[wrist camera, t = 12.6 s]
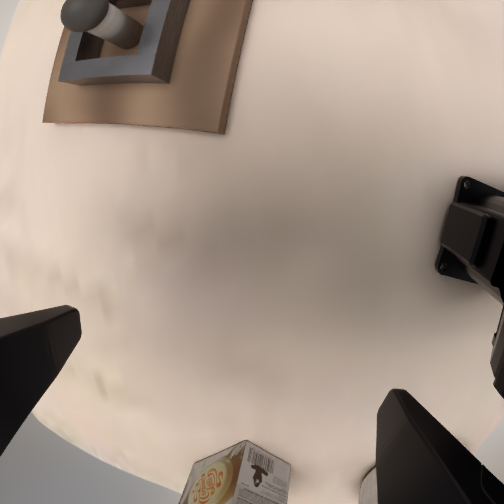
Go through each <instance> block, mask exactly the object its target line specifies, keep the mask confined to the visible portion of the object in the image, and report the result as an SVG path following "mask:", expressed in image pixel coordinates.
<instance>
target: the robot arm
mask: <svg viewBox="0 0 504 504" xmlns="http://www.w3.org/2000/svg"><path fill="white" fill-rule="evenodd" d="M465 181H467V187H465V186H464V182H465ZM441 243H442V245H441V249H440V252H439V255H438V258H437V261H436V264H435V269H436V271H437V272H438V273H440V274H441V275H445V276H449V277H453V278H457V279H461V280H465V281H469V282H472V283H476V284H479V285H481V286H482V287H483V288H484V289H485V290H486V291H488V292H489V293H490V294H491V295H492V296H493V297H494V298H495V299H497V300H498V301H499V302H500V303H501V304H502V305H503V309H502V313H501V317H500V321H499V325H498V328H497V332H496V333H495V334H494V337H493V340H492V345H493V349H492V354H491V361H490V364H491V367H492V371H493V374H494V377H495V380H494V383H493V385H494V387H495V388H496V390H497V391H498V392H499V394H500V395H501V396H502V398H503V399H504V192H502V191H499V190H497V189H495V188H493V187H491V186H489V185H486V184H484V183H482V182H480V181H477V180H475V179H473V178H470V177H467V176H462V177H461V178H460V179H459V181H458V185H457V190H456V194H455V198H454V202H453V204H452V205H451V207H450V211H449V215H448V219H447V222H446V226H445V229H444V233H443V236H442V239H441ZM442 264H445V266H444V268H442V269H441V265H442ZM81 334H82V331H81V322H80V314H79V311H78V310H77V309H76V308H74V307H71V306H69V305H63V306H58V307H54V308H49V309H44V310H39V311H34V312H29V313H25V314H20V315H15V316H10V317H5V318H0V456H1V455H2V453H3V452H4V450H5V449H6V447H7V446H8V444H9V443H10V441H11V440H12V438H13V437H14V435H15V434H16V432H17V431H18V429H19V428H20V426H21V425H22V423H23V422H24V421H25V419H26V418H27V416H28V415H29V414H30V412H31V411H32V409H33V408H34V407H35V405H36V404H37V402H38V401H39V400H40V398H41V397H42V396H43V394H44V393H45V392H46V390H47V389H48V388H49V386H50V385H51V384H52V382H53V381H54V380H55V378H56V377H57V375H58V374H59V372H60V371H61V369H62V368H63V366H64V364H65V363H66V361H67V359H68V358H69V356H70V354H71V353H72V351H73V350H74V348H75V347H76V345H77V343H78V342H79V340H80V338H81ZM376 478H377V501H378V504H504V484H503V483H502V482H501V481H499V480H498V479H497V478H496V477H495V476H494V475H493V474H492V473H491V472H490V471H489V470H488V469H487V468H486V467H485V466H484V465H481V462H480V461H479V460H478V459H476V458H475V457H474V456H473V455H472V454H471V453H470V452H469V451H468V450H467V449H466V448H465V447H464V446H463V445H462V444H461V443H460V442H459V441H458V440H457V439H456V438H455V437H454V436H453V435H452V434H451V433H450V432H449V431H448V430H447V429H446V428H445V427H444V426H443V425H442V424H440V423H439V422H438V421H437V420H436V419H435V418H434V417H433V416H432V415H431V414H430V413H429V412H428V411H427V410H426V409H425V408H424V407H423V406H422V405H421V404H420V403H419V402H418V401H417V400H416V399H415V398H414V397H412V396H411V395H410V394H409V393H408V392H407V391H406V390H404V389H392V390H390V391H389V393H388V395H387V396H386V398H385V400H384V401H383V403H382V405H381V406H380V408H379V410H378V413H377V439H376Z"/></svg>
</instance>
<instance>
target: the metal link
mask: <svg viewBox="0 0 504 504" xmlns="http://www.w3.org/2000/svg"><path fill="white" fill-rule="evenodd" d="M108 1H109V3H110V4H112V5H113V6H115V7H117V8H118V9H124V8H130V7H137V6H144V5H150V8H149V12H148V15H147V18H146V21H145V25H144V28H143V32H142V35H141V39H140V43H139V46H138V50H137V54H136V55H125V56H114V57H104V58H100V54H101V50H102V47H103V43H104V39H102V38H100V37H98V36H95V35H93V34H91V33H89V32H72V31H71V33H70V36H69V39H68V43H67V46H66V50H65V54H64V58H63V62H62V66H61V70H60V74H59V79H58V81H59V82H64V83H69V84H74V85H78V86H87V85H101V84H124V83H167V84H170V79H171V74H172V70H173V65H174V61H175V57H176V53H177V48H178V44H179V40H180V36H181V33H182V29H183V25H184V21H185V18H186V14H187V11H188V7H189V4H190V1H191V0H108Z"/></svg>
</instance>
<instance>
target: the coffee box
mask: <svg viewBox="0 0 504 504" xmlns="http://www.w3.org/2000/svg"><path fill="white" fill-rule="evenodd" d="M290 468H291V466H290V464H288V463H286V462H284V461H282V460H280V459H279V458H277V457H275V456H273V455H271V454H270V453H268V452H266V451H264V450H263V449H261V448H259V447H257V446H256V445H254V444H252V443H251V442H249V441H247V440H245V441H243V442H241V443H239V444H237V445H235V446H233V447H230V448H228V449H226V450H224V451H222V452H220V453H217V454H215V455H213V456H211V457H208V458H206V459H204V460H202V461H199V462H197V463H194V464H193V467H192V470H191V472H190V475H189V478H188V480H187V483H186V486H185V488H184V491H183V494H182V497H181V499H180V502H179V504H287V498H288V490H289V479H290Z"/></svg>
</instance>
